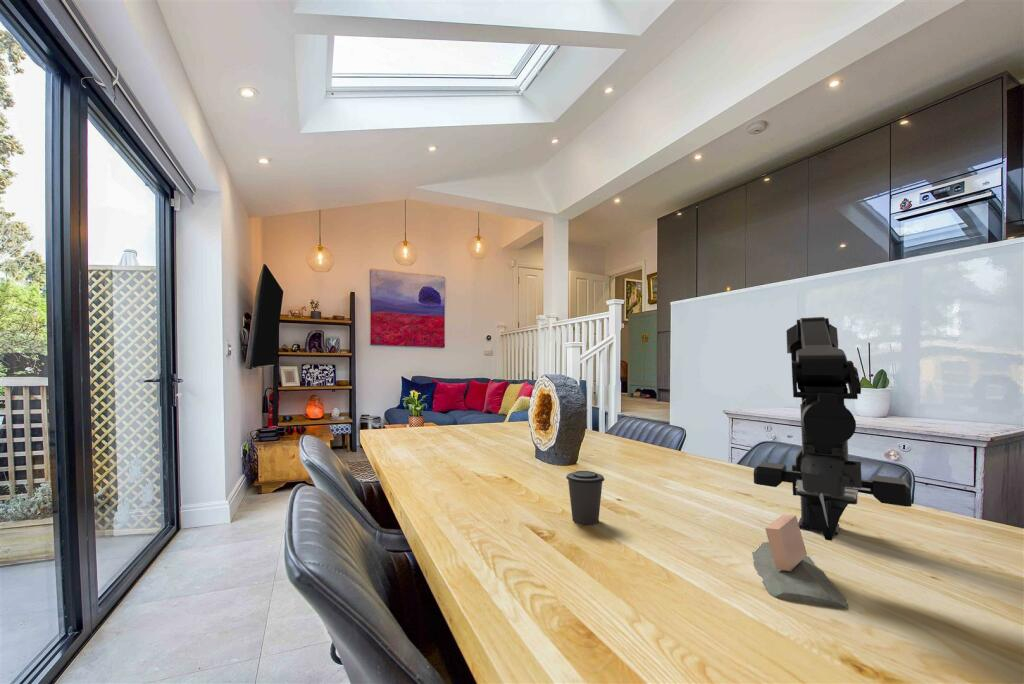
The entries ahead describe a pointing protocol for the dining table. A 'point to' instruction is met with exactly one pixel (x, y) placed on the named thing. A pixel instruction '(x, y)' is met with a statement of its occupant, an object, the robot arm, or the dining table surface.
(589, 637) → the dining table surface
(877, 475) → the robot arm
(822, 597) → the stone slab
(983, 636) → the dining table surface
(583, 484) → the coffee cup
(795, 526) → the block
